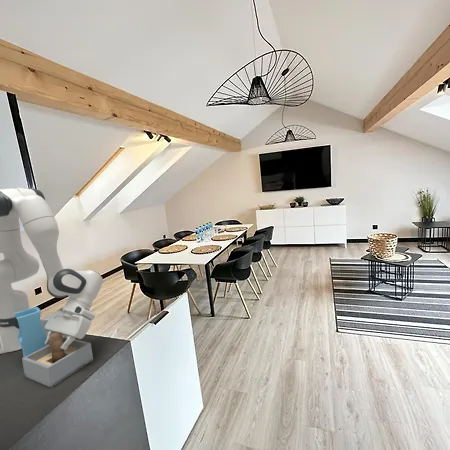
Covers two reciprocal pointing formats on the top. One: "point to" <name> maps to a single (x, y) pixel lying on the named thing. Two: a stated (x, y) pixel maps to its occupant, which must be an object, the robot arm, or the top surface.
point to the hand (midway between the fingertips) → (54, 346)
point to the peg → (56, 346)
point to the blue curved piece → (30, 330)
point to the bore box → (57, 363)
